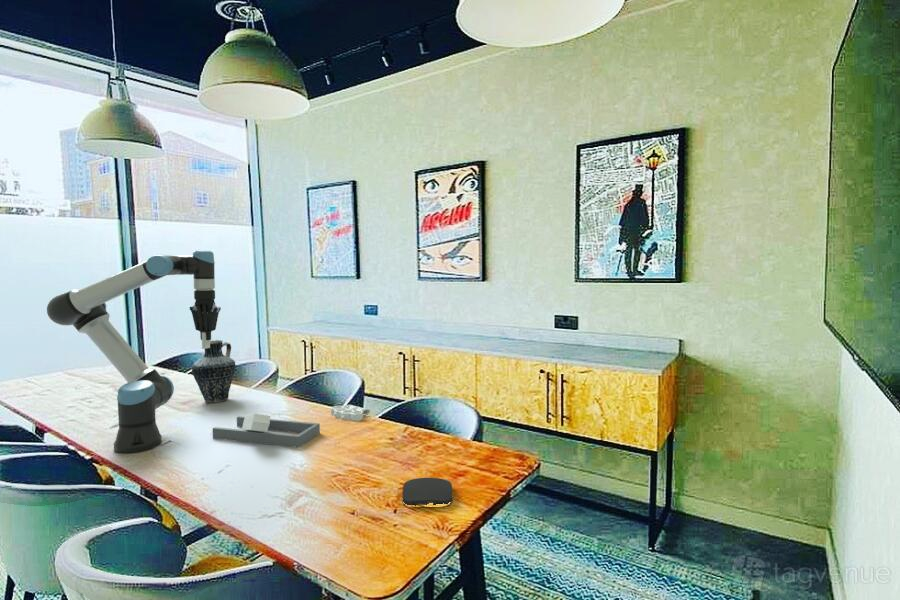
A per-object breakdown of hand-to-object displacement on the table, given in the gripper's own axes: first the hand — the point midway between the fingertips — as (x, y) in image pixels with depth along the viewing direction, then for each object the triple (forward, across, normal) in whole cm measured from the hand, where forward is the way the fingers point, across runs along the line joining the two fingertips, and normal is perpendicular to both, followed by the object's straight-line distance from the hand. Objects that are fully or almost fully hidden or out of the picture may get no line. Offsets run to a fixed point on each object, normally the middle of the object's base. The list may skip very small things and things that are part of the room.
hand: (206, 348), depth 197 cm
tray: (+34, -25, -2) cm, 43 cm away
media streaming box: (+35, -102, +31) cm, 112 cm away
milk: (+31, -17, -4) cm, 35 cm away
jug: (+35, +29, -40) cm, 60 cm away
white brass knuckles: (+35, -46, -35) cm, 67 cm away
